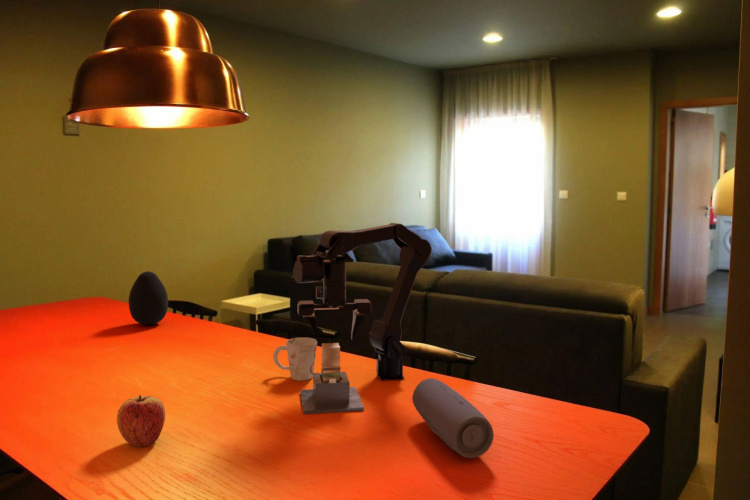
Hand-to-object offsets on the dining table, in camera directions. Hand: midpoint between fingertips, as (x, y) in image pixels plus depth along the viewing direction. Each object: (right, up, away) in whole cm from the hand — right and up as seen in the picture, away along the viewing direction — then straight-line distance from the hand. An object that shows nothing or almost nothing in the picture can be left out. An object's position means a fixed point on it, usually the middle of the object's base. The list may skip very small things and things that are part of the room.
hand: (334, 340), depth 151 cm
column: (0, -8, -9) cm, 13 cm away
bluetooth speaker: (+26, -16, -29) cm, 42 cm away
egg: (-74, -5, +67) cm, 100 cm away
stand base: (0, -14, -9) cm, 16 cm away
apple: (-37, -16, -32) cm, 52 cm away
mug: (-12, -12, +9) cm, 19 cm away
